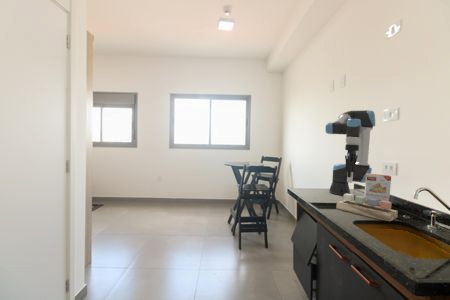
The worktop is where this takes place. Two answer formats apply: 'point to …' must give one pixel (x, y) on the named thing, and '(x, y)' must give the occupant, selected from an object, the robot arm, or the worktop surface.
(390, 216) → the key console
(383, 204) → the pink small block
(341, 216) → the worktop surface
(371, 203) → the slate key
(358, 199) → the sage key
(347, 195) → the ivory key
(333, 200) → the worktop surface
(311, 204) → the worktop surface
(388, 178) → the cracker box
